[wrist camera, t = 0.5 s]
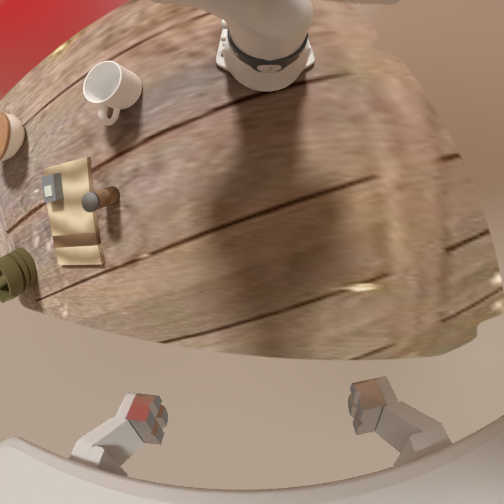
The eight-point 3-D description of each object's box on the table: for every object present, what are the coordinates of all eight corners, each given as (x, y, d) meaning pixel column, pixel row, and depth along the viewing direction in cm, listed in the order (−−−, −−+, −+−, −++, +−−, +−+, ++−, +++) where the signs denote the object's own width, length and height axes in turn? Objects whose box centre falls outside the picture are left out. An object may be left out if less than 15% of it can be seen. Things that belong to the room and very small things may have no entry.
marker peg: (104, 187, 53) (80, 193, 44) (118, 185, 53) (95, 191, 44) (106, 204, 54) (83, 213, 45) (120, 202, 54) (98, 211, 45)
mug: (136, 127, 49) (112, 123, 39) (103, 127, 48) (75, 124, 39) (147, 73, 45) (126, 58, 35) (113, 74, 45) (88, 63, 35)
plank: (47, 168, 51) (43, 168, 49) (90, 157, 50) (86, 157, 49) (62, 262, 59) (58, 265, 57) (104, 262, 58) (101, 264, 57)
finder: (49, 175, 50) (40, 177, 47) (61, 172, 50) (52, 174, 47) (52, 200, 52) (43, 203, 49) (63, 198, 52) (55, 201, 49)
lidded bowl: (1, 156, 49) (-26, 160, 39) (10, 112, 45) (-17, 111, 35) (25, 163, 50) (-4, 168, 40) (36, 115, 46) (6, 113, 36)
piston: (16, 297, 49) (0, 307, 51) (42, 278, 60) (24, 289, 62) (-4, 256, 46) (-18, 271, 47) (25, 242, 57) (8, 256, 59)
